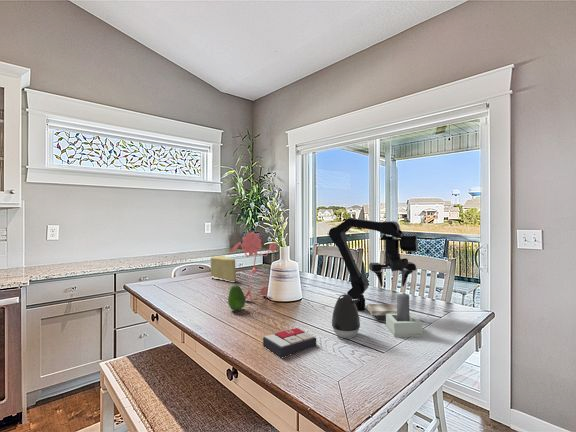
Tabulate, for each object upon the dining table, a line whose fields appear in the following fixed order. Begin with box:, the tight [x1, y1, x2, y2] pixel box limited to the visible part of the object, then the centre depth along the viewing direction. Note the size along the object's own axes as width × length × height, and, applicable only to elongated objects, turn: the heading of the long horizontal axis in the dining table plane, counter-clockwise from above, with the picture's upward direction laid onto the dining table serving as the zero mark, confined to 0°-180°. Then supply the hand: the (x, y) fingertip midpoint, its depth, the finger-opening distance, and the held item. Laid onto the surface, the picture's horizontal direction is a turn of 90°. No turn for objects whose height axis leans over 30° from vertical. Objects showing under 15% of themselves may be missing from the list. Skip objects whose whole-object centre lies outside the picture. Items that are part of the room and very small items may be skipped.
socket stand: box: [385, 312, 423, 338], centre depth 120 cm, size 10×10×5 cm
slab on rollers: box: [366, 303, 397, 321], centre depth 135 cm, size 14×9×4 cm, turn 90°
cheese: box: [210, 255, 237, 282], centre depth 208 cm, size 22×10×15 cm, turn 42°
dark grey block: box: [396, 293, 410, 321], centre depth 120 cm, size 4×4×12 cm
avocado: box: [227, 284, 246, 311], centre depth 148 cm, size 8×8×12 cm
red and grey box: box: [262, 327, 317, 359], centre depth 110 cm, size 11×4×15 cm
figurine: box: [229, 230, 277, 302], centre depth 167 cm, size 15×26×35 cm, turn 128°
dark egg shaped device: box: [331, 293, 361, 339], centre depth 117 cm, size 10×10×15 cm
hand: (392, 286), depth 139 cm, fingers open, 9 cm apart
